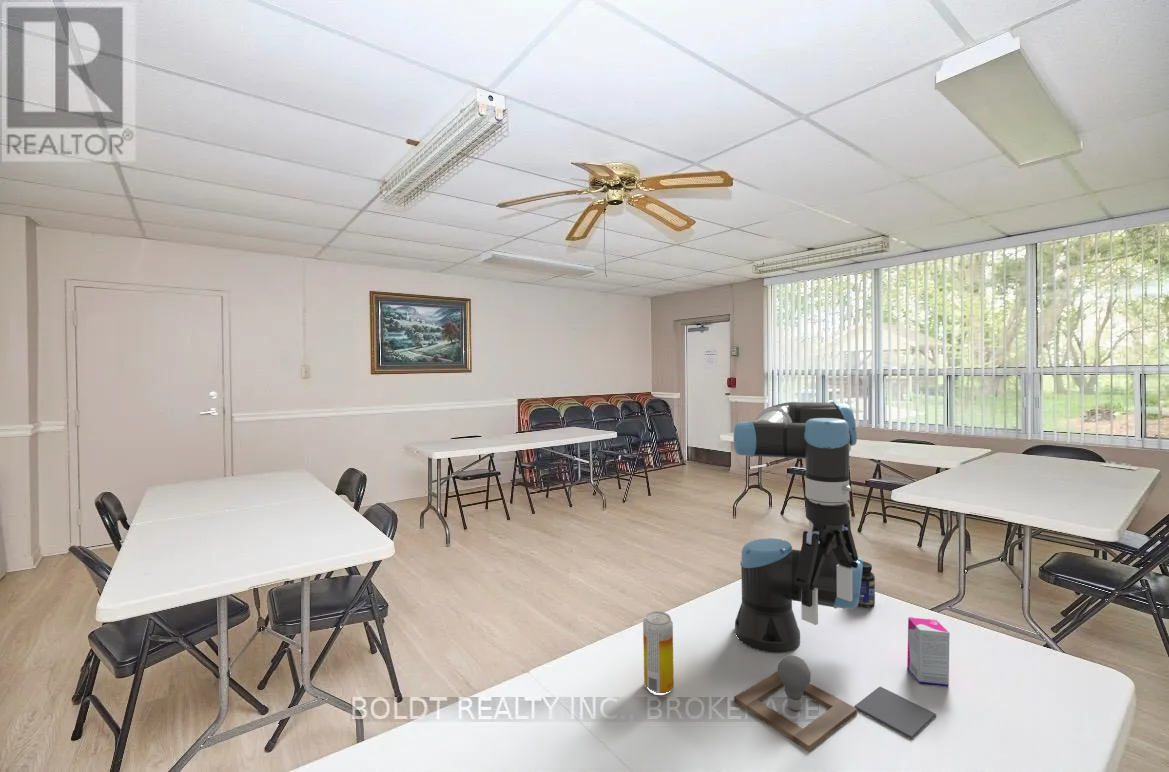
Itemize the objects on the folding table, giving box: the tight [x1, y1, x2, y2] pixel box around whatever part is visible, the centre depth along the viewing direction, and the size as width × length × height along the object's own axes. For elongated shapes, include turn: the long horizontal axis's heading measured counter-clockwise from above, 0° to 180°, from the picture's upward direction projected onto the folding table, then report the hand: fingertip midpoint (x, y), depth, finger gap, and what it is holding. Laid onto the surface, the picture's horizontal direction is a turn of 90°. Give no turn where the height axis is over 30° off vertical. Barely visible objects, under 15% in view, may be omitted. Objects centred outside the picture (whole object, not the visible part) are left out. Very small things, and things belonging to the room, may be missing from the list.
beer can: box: [642, 610, 675, 693], centre depth 104 cm, size 6×6×15 cm
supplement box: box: [906, 616, 951, 688], centre depth 106 cm, size 6×6×12 cm
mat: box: [854, 686, 937, 740], centre depth 95 cm, size 10×10×1 cm
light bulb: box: [776, 654, 812, 711], centre depth 97 cm, size 6×6×10 cm
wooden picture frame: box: [733, 670, 858, 752], centre depth 97 cm, size 16×16×1 cm
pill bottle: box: [857, 560, 876, 608], centre depth 139 cm, size 6×6×11 cm
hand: (827, 609), depth 96 cm, fingers open, 13 cm apart
